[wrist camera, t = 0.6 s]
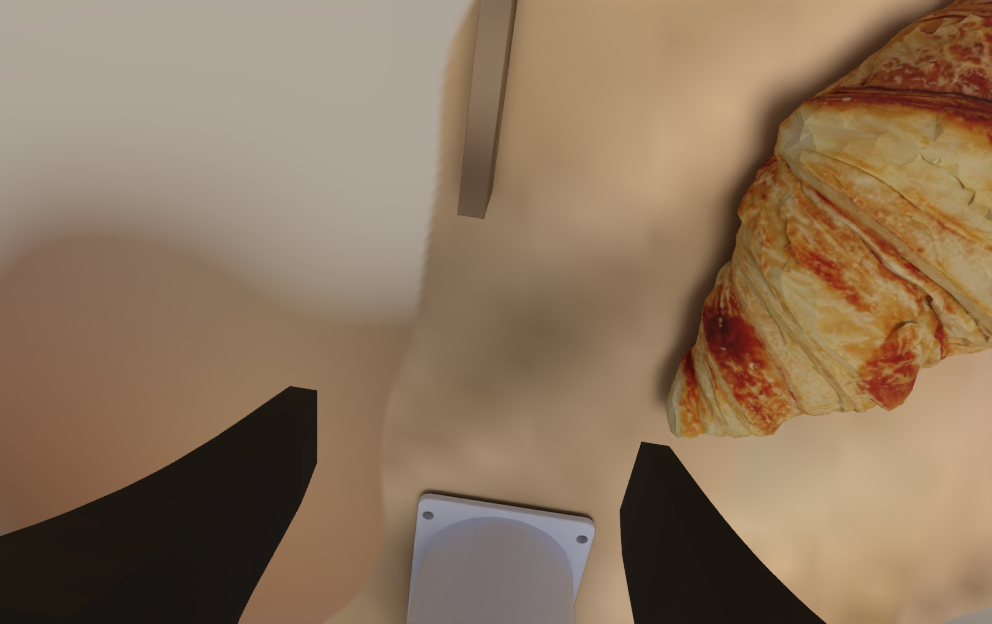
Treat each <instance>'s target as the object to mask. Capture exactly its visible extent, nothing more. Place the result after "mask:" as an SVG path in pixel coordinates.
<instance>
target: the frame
mask: <svg viewBox="0 0 992 624" xmlns="http://www.w3.org/2000/svg"><path fill="white" fill-rule="evenodd" d="M516 6H517V0H480V9H479V18H478V28H477V37H476V46H475V56H474V65H473V74H472V84H471V93H470V102H469V111H468V121H467V130H466V139H465V149H464V158H463V167H462V177H461V186H460V195H459V205H458V214H457V215H462V216H469V217H475V218H482V219H484V217H485V213H486V210H487V206H488V203H489V200H490V196H491V193H492V187H493V179H494V172H495V164H496V157H497V149H498V142H499V134H500V127H501V119H502V112H503V104H504V97H505V89H506V81H507V74H508V66H509V59H510V51H511V44H512V36H513V29H514V21H515V14H516Z"/></svg>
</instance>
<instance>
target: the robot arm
mask: <svg viewBox="0 0 992 624" xmlns="http://www.w3.org/2000/svg"><path fill="white" fill-rule="evenodd" d="M316 464H317V390H311V389H305V388H298V387H292V386H289V387H288V388H286V389H285V390H284V391H282V392H281V393H279V394H278V395H276V396H275V397H273V398H272V399H270V400H269V401H268V402H266V403H265V404H263V405H262V406H260V407H259V408H257V409H256V410H255V411H253V412H252V413H250V414H249V415H247V416H246V417H245V418H243V419H242V420H240V421H239V422H237V423H236V424H234V425H233V426H231V427H230V428H228V429H227V430H225V431H224V432H222V433H221V434H219V435H218V436H216V437H215V438H213V439H211V440H210V441H208V442H207V443H205V444H203V445H202V446H200V447H198V448H197V449H195V450H193V451H192V452H190V453H188V454H187V455H185V456H183V457H182V458H180V459H178V460H177V461H175V462H174V463H171V464H170V465H168V466H166V467H164V468H162V469H160V470H158V471H157V472H155V473H153V474H151V475H149V476H147V477H145V478H143V479H141V480H139V481H137V482H135V483H133V484H131V485H129V486H127V487H125V488H122V489H120V490H118V491H116V492H114V493H111V494H109V495H107V496H104V497H102V498H100V499H97V500H95V501H93V502H90V503H88V504H86V505H83V506H81V507H79V508H76V509H74V510H72V511H69V512H67V513H64V514H62V515H59V516H56V517H53V518H51V519H48V520H45V521H43V522H40V523H38V524H35V525H32V526H29V527H26V528H23V529H20V530H17V531H14V532H11V533H8V534H6V535H3V536H0V624H238V622H239V619H240V617H241V615H242V613H243V610H244V609H245V607H246V604H247V603H248V600H249V599H250V596H251V594H252V593H253V591H254V589H255V587H256V585H257V583H258V581H259V580H260V578H261V576H262V574H263V573H264V571H265V569H266V567H267V565H268V563H269V562H270V560H271V558H272V556H273V554H274V552H275V550H276V549H277V547H278V545H279V543H280V542H281V540H282V538H283V536H284V534H285V532H286V530H287V529H288V527H289V525H290V523H291V521H292V519H293V518H294V516H295V514H296V512H297V510H298V508H299V506H300V504H301V502H302V500H303V497H304V495H305V492H306V490H307V487H308V485H309V482H310V479H311V477H312V474H313V472H314V469H315V466H316ZM425 511H429V512H432V513H427V512H425ZM620 527H621V545H622V557H623V563H624V569H625V574H626V580H627V586H628V591H629V597H630V602H631V608H632V613H633V619H634V624H826V623H825V622H824V621H823V620H822V619H821V618H819V617H818V616H817V615H816V614H815V613H814V612H812V611H811V610H810V609H809V608H808V607H807V606H806V605H805V604H804V603H803V602H802V601H800V600H799V599H798V598H797V597H796V596H795V595H794V594H793V593H792V592H791V591H790V590H789V589H788V588H787V587H786V586H785V585H784V584H783V583H782V582H781V581H780V580H779V579H778V578H777V577H776V576H775V575H774V574H773V573H772V572H771V571H770V570H769V569H768V568H767V567H766V566H765V565H764V564H763V563H762V562H761V561H760V560H759V558H758V557H757V556H756V555H755V554H754V553H753V552H752V551H751V550H750V548H749V547H748V546H747V545H746V544H745V543H744V542H743V540H742V539H741V538H740V537H739V536H738V535H737V534H736V532H735V531H734V530H733V529H732V528H731V526H730V525H729V524H728V523H727V522H726V520H725V519H724V518H723V517H722V515H721V514H720V513H719V512H718V510H717V509H716V508H715V507H714V505H713V504H712V503H711V502H710V500H709V499H708V498H707V496H706V495H705V494H704V492H703V491H702V490H701V488H700V487H699V486H698V484H697V483H696V482H695V480H694V479H693V478H692V476H691V475H690V474H689V472H688V471H687V470H686V468H685V467H684V465H683V464H682V463H681V461H680V460H679V459H678V457H677V456H676V455H675V453H674V452H673V451H672V449H671V448H670V447H669V446H665V445H659V444H653V443H646V442H641V445H640V448H639V451H638V454H637V457H636V461H635V464H634V467H633V470H632V473H631V476H630V480H629V483H628V486H627V489H626V492H625V496H624V499H623V502H622V505H621V508H620ZM580 535H583V536H584V537H579V536H580ZM594 535H595V524H594V522H593V521H592V520H591V519H589V518H585V517H578V516H572V515H566V514H559V513H553V512H546V511H540V510H533V509H527V508H520V507H514V506H508V505H501V504H495V503H488V502H482V501H475V500H469V499H462V498H456V497H450V496H443V495H437V494H424V495H422V496H421V497H420V500H419V504H418V511H417V522H416V532H415V542H414V552H413V562H412V572H411V582H410V592H409V602H408V612H407V623H406V624H575V610H574V603H575V599H576V596H577V592H578V589H579V586H580V582H581V579H582V575H583V572H584V569H585V565H586V562H587V558H588V555H589V552H590V548H591V545H592V541H593V538H594Z"/></svg>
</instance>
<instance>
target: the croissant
mask: <svg viewBox="0 0 992 624" xmlns="http://www.w3.org/2000/svg"><path fill="white" fill-rule="evenodd" d="M738 215H739V218H740V219H741V221H742V223H741V226H740V228H739V231H738V233H737V234H736V247H735V250H734V252H733V256H732V261H729V262H728V263H726V264H725V265H724V266H722V268H721V269H720V271H719V273H718V275H717V279H716V283H715V287H714V289H713V290H712V291H711V292H710V294H709V295H708V296H707V297H706V298H705V302H704V306H703V311H702V318H701V323H700V326H699V333H698V337H697V341H696V343H695V344H694V345H693V347H692V348H691V349H690V350H688V351H687V352H686V354H685V355H684V357H683V358H682V360H681V362H680V364H679V369H678V371H677V374H676V376H675V378H674V381H673V384H672V387H671V390H670V393H669V396H668V399H667V409H666V411H667V420H668V424H669V427H670V431H671V432H672V433H673V434H674V435H675V436H676V437H680V438H688V439H691V438H694V437H696V436H698V435H699V434H709V435H714V436H720V437H724V436H726V435H729V436H732V437H734V438H738V437H746V436H749V435H751V434H753V435H754V436H761V437H762V436H767V435H772V434H774V433H775V431H776V430H777V429H778V427H779V426H780V425H781V424H782V423H783V422H785V421H787V420H789V419H790V418H792V417H795V416H799V415H802V414H804V413H805V414H809V415H812V416H819V415H826V414H830V413H831V412H833V411H838V412H840V413H843V412H848V411H852V410H854V411H856V412H865V411H866V410H867V409H870V408H873V407H875V406H876V405H877V404H878V405H879V406H881V407H882V408H883V409H885V410H887V411H890V410H892V409H894V408H895V407H897V406H899V405H902V404H903V403H904V401H905V400H906V398H907V397H908V395H909V394H910V392H911V391H912V389H913V386H914V383H915V380H916V377H917V374H918V371H919V370H920V369H921V368H930V367H932V366H935V365H937V364H938V363H939V362H940V361H941V360H942V359H944V358H946V357H947V356H953V355H960V354H968V353H977V352H981V351H984V350H986V349H989V348H992V0H955V1H954V2H952V3H951V4H950V5H948V6H947V7H946V8H944V9H941V10H937V11H933V12H928V13H926V14H924V15H923V16H921V17H920V18H918V19H917V20H915V21H914V22H912V23H911V24H909V25H908V26H907V27H905V28H904V29H902V30H901V31H899V32H898V33H897V34H896V35H895V36H894V37H893V38H892V39H891V40H890V41H889V42H888V43H887V44H886V45H885V46H884V47H882V48H881V49H879V50H878V51H877V52H875V53H874V54H872V55H871V56H869V57H868V58H867V59H866V60H865V61H864V62H863V63H862V64H860V65H859V66H858V67H857V68H856V69H854V70H853V71H851V72H850V73H848V74H847V75H845V76H844V77H842V78H841V79H839V80H838V81H836V82H835V83H833V84H831V85H830V86H828V87H827V88H825V89H824V90H822V91H821V92H819V93H818V94H816V95H815V96H814V97H809V98H808V99H807V100H805V101H804V102H803V103H802V104H801V105H800V106H799V107H798V108H797V109H796V110H795V111H794V112H793V113H792V114H791V115H790V116H789V117H788V118H787V119H785V120H784V121H783V122H782V123H780V125H779V132H778V138H777V142H776V145H775V148H774V155H773V156H772V157H771V158H770V159H769V160H768V161H766V162H765V163H764V164H763V165H762V167H761V168H760V169H759V170H758V172H757V175H756V177H755V180H754V182H753V184H752V185H751V186H750V188H749V189H748V191H747V192H746V194H745V195H744V197H743V199H742V202H741V204H740V207H739V209H738Z"/></svg>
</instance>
